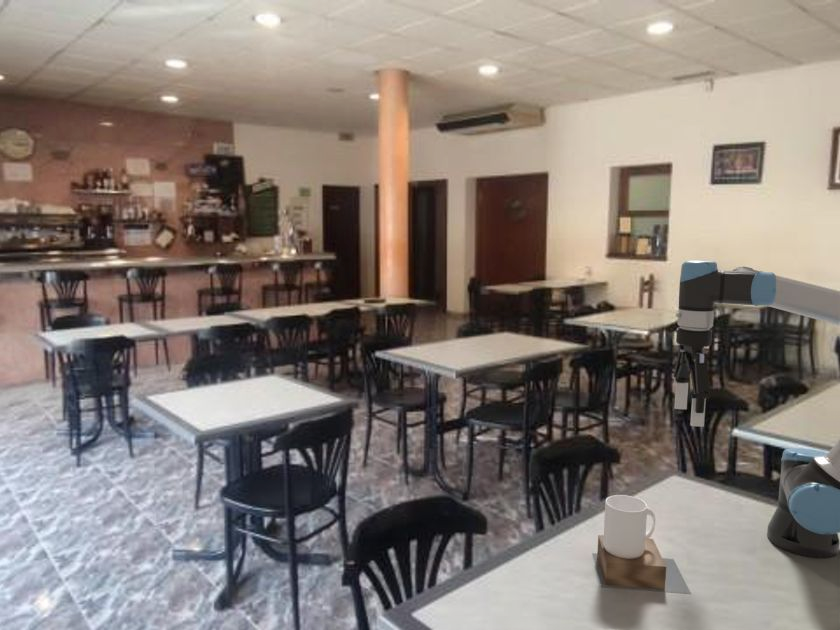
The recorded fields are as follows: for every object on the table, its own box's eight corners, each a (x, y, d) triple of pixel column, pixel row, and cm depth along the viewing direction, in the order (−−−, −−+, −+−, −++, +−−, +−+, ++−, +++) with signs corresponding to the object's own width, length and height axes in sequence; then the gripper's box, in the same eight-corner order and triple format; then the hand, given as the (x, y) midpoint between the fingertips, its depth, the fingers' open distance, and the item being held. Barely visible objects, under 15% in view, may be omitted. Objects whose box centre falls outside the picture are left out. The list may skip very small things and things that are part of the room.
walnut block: (651, 559, 145) (652, 538, 144) (664, 589, 133) (666, 566, 133) (597, 555, 147) (598, 535, 146) (605, 584, 135) (606, 562, 134)
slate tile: (673, 563, 146) (673, 558, 145) (690, 599, 132) (691, 593, 132) (591, 558, 148) (592, 553, 148) (601, 592, 134) (601, 586, 134)
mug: (666, 554, 137) (669, 507, 136) (617, 562, 134) (620, 514, 133) (641, 536, 146) (644, 491, 144) (595, 543, 142) (597, 497, 141)
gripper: (664, 319, 160) (658, 401, 163) (693, 336, 136) (686, 433, 139) (695, 320, 159) (689, 403, 162) (730, 337, 135) (723, 434, 138)
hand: (688, 417), depth 150 cm, fingers open, 13 cm apart
